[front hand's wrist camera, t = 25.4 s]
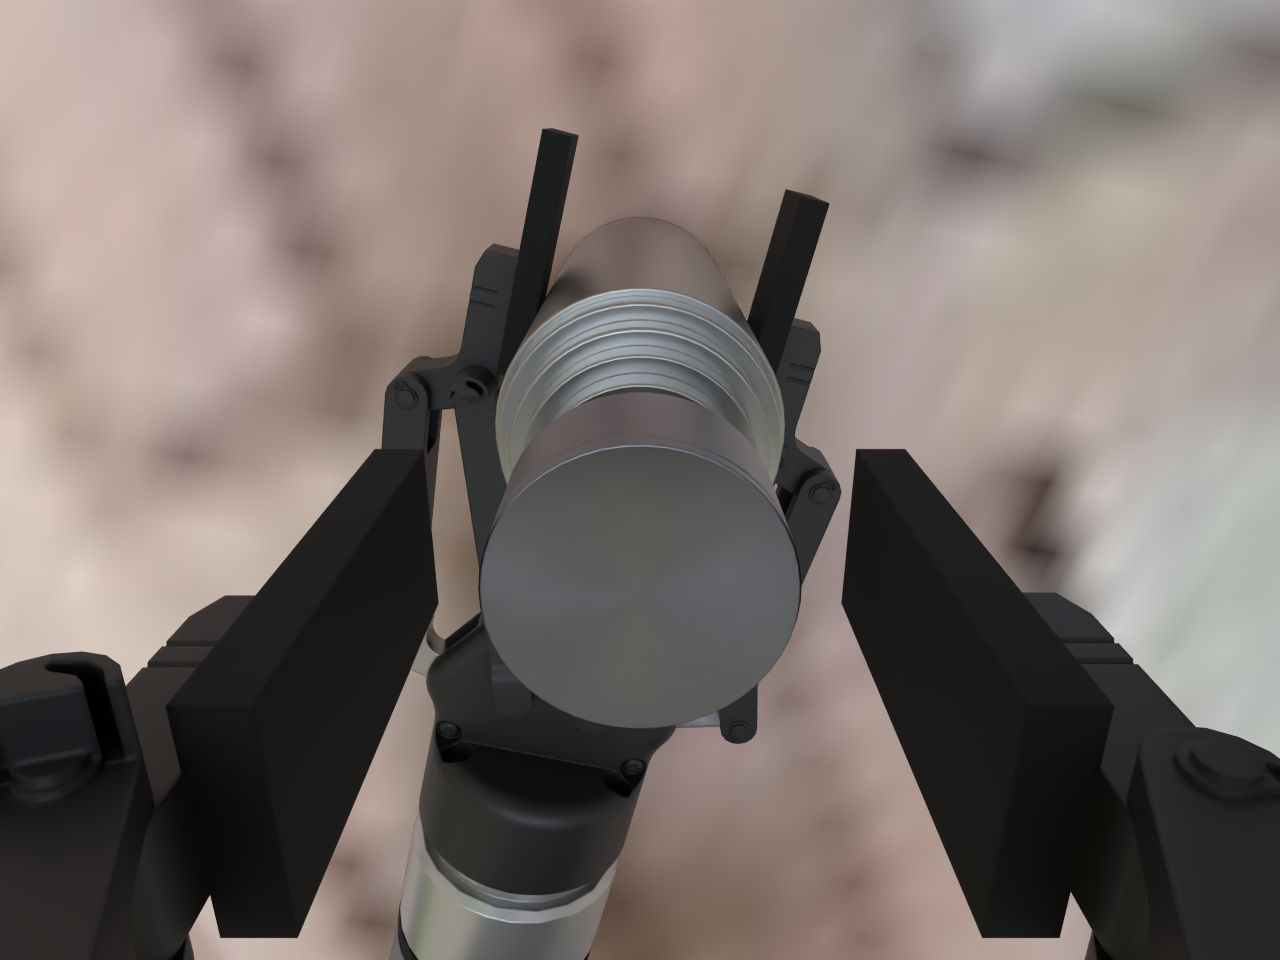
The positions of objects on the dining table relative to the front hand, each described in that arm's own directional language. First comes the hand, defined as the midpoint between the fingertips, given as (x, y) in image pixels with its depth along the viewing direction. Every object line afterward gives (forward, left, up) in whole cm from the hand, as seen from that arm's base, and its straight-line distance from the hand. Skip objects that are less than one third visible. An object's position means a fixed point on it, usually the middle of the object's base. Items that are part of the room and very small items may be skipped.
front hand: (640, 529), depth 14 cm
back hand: (-5, 0, -13) cm, 13 cm away
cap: (0, 0, +2) cm, 2 cm away
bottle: (0, 0, -19) cm, 19 cm away
